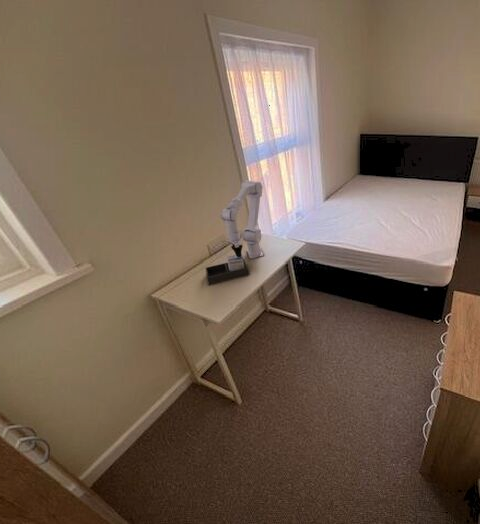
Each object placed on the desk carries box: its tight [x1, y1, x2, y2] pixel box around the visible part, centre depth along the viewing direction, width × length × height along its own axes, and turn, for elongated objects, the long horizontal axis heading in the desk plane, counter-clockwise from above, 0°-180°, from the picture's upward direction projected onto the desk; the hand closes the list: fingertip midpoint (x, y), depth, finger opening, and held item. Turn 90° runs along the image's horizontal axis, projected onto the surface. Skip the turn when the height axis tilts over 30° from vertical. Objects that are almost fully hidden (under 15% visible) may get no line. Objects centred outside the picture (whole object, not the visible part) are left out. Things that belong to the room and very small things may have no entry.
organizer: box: [205, 258, 250, 286], centre depth 154 cm, size 11×21×5 cm, turn 115°
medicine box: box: [226, 253, 244, 272], centre depth 154 cm, size 8×4×9 cm, turn 117°
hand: (238, 253), depth 155 cm, fingers open, 7 cm apart
